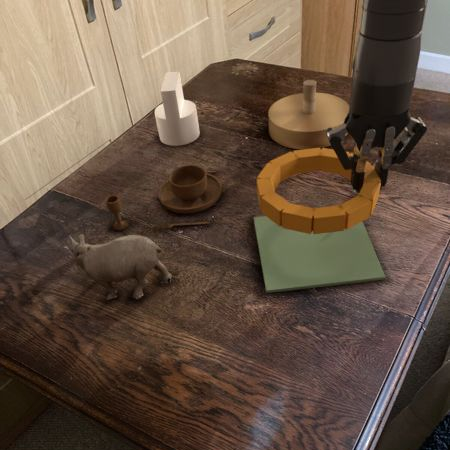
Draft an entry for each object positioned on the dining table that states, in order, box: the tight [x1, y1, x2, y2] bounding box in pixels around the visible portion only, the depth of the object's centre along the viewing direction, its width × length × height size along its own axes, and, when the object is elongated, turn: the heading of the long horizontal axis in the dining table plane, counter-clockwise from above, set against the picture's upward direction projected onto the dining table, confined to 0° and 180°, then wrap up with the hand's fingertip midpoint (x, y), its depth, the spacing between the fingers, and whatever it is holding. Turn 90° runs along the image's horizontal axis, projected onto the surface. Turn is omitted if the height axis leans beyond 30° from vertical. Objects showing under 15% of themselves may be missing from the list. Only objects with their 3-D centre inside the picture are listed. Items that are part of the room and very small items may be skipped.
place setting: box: [104, 164, 222, 232], centre depth 91 cm, size 18×20×6 cm
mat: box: [253, 215, 386, 294], centre depth 80 cm, size 18×18×1 cm
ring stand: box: [267, 79, 349, 150], centre depth 103 cm, size 17×17×10 cm
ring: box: [256, 147, 381, 234], centre depth 72 cm, size 17×17×3 cm
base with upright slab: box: [154, 71, 201, 147], centre depth 105 cm, size 9×9×12 cm
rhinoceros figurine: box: [62, 233, 173, 301], centre depth 76 cm, size 8×14×15 cm
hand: (367, 188), depth 73 cm, fingers closed on ring, 2 cm apart
